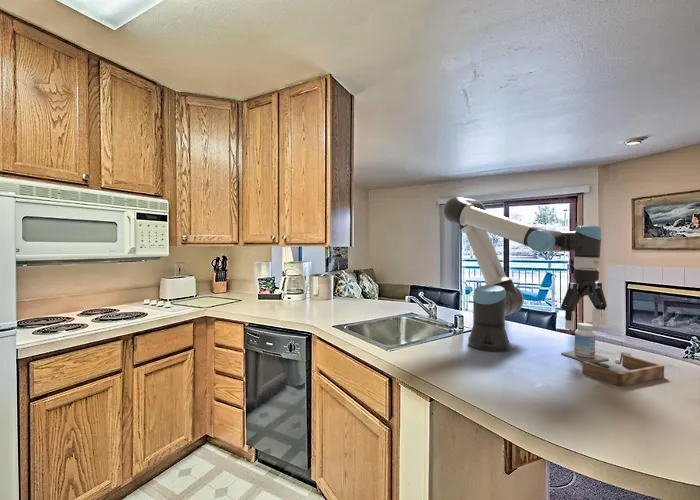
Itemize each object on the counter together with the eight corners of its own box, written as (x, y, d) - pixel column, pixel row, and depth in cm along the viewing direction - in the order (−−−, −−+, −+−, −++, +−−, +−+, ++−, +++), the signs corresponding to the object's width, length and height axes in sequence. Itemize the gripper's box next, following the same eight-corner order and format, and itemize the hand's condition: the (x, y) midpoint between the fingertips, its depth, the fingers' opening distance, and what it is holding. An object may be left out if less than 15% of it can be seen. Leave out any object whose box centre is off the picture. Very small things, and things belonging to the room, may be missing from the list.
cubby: (620, 386, 97) (620, 374, 97) (582, 372, 107) (582, 361, 107) (663, 377, 104) (664, 365, 104) (624, 365, 114) (624, 354, 114)
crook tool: (615, 363, 117) (615, 359, 117) (617, 354, 126) (617, 350, 126) (630, 365, 114) (630, 362, 114) (631, 356, 124) (631, 353, 124)
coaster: (588, 363, 115) (588, 361, 115) (561, 354, 125) (561, 352, 125) (608, 360, 119) (608, 358, 119) (580, 351, 128) (580, 349, 128)
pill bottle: (595, 359, 118) (596, 327, 117) (574, 356, 121) (575, 324, 121) (594, 354, 123) (594, 323, 123) (573, 351, 126) (574, 321, 126)
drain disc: (604, 368, 111) (604, 368, 111) (591, 364, 115) (591, 363, 115) (612, 367, 112) (612, 366, 112) (599, 363, 116) (599, 362, 116)
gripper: (571, 270, 113) (568, 333, 114) (620, 269, 122) (617, 328, 123) (551, 268, 120) (548, 327, 121) (599, 267, 129) (596, 323, 130)
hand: (583, 328), depth 122 cm, fingers open, 13 cm apart
